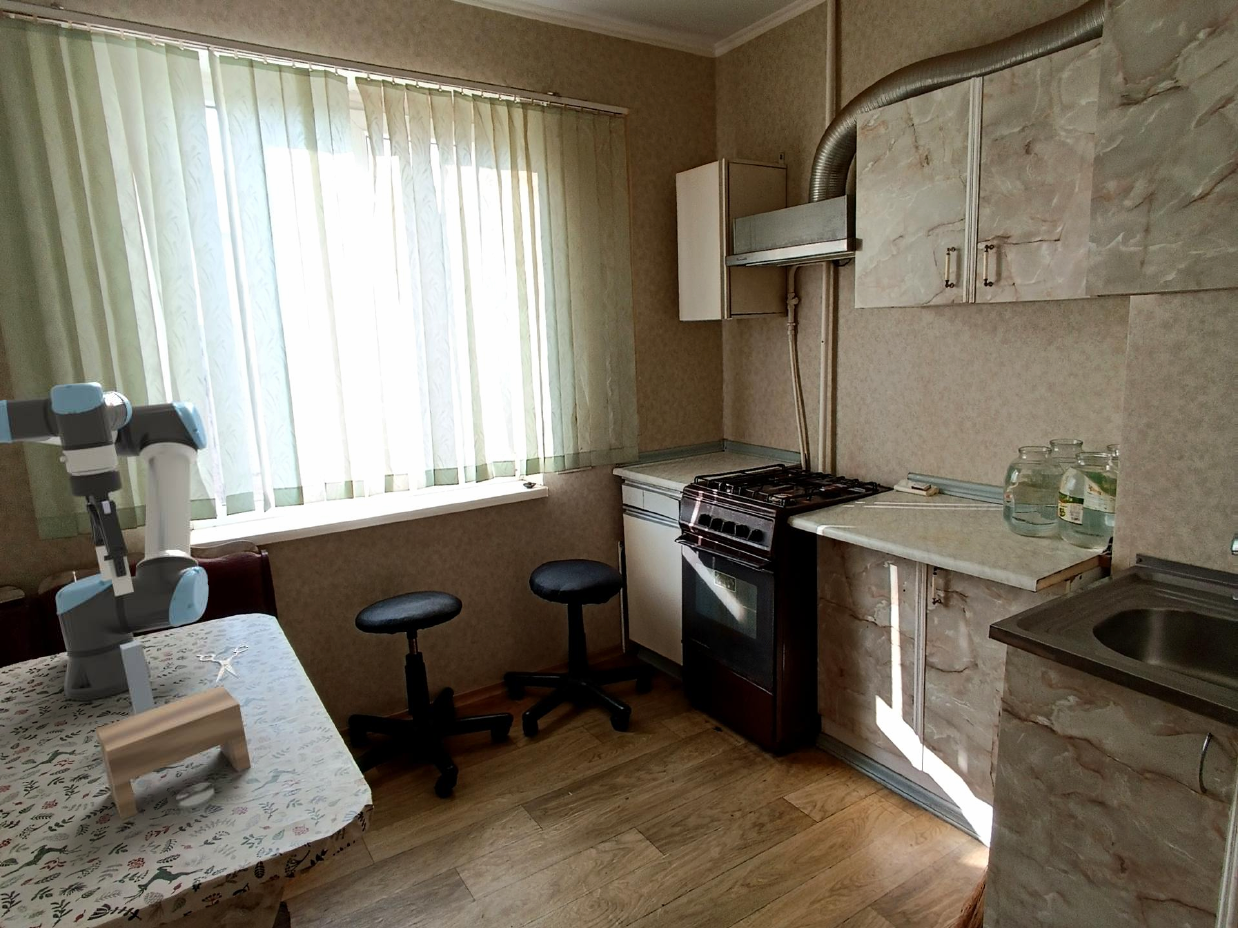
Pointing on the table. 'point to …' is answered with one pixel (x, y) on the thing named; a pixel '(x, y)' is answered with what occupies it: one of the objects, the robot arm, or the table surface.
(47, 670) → the table surface
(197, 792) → the steel token
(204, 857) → the table surface
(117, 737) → the wooden arch block
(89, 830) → the table surface
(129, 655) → the push tool
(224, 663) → the scissors
